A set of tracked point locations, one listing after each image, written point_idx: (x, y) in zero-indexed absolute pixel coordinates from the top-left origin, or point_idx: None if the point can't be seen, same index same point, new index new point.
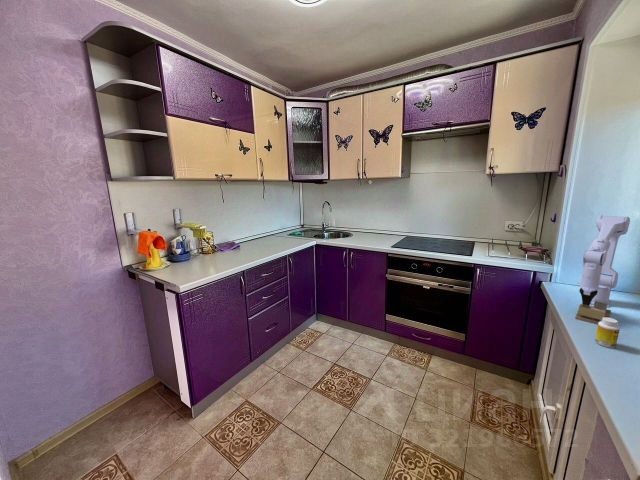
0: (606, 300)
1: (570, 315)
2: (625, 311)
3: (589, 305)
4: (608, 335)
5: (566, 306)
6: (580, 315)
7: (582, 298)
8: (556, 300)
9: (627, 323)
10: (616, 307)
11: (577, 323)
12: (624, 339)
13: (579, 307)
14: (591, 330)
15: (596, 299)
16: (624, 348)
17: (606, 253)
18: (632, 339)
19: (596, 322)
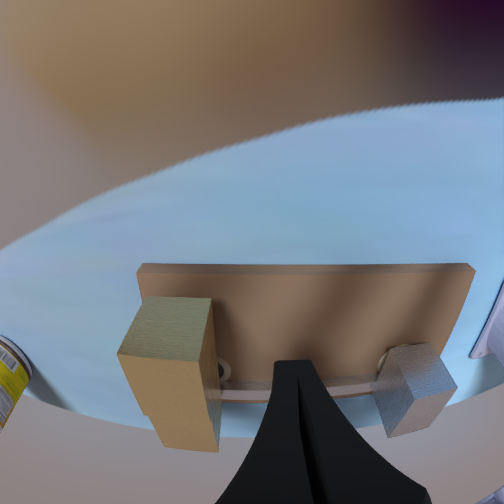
0: (501, 364)
1: (187, 228)
2: None
3: (458, 310)
4: None
5: (402, 179)
6: (198, 297)
7: (260, 427)
8: (479, 112)
9: None
10: (478, 367)
11: (80, 280)
12: (103, 407)
13: (122, 348)
14: (63, 333)
15: (450, 393)
16: (41, 390)
17: None
18: (129, 423)
19: None
